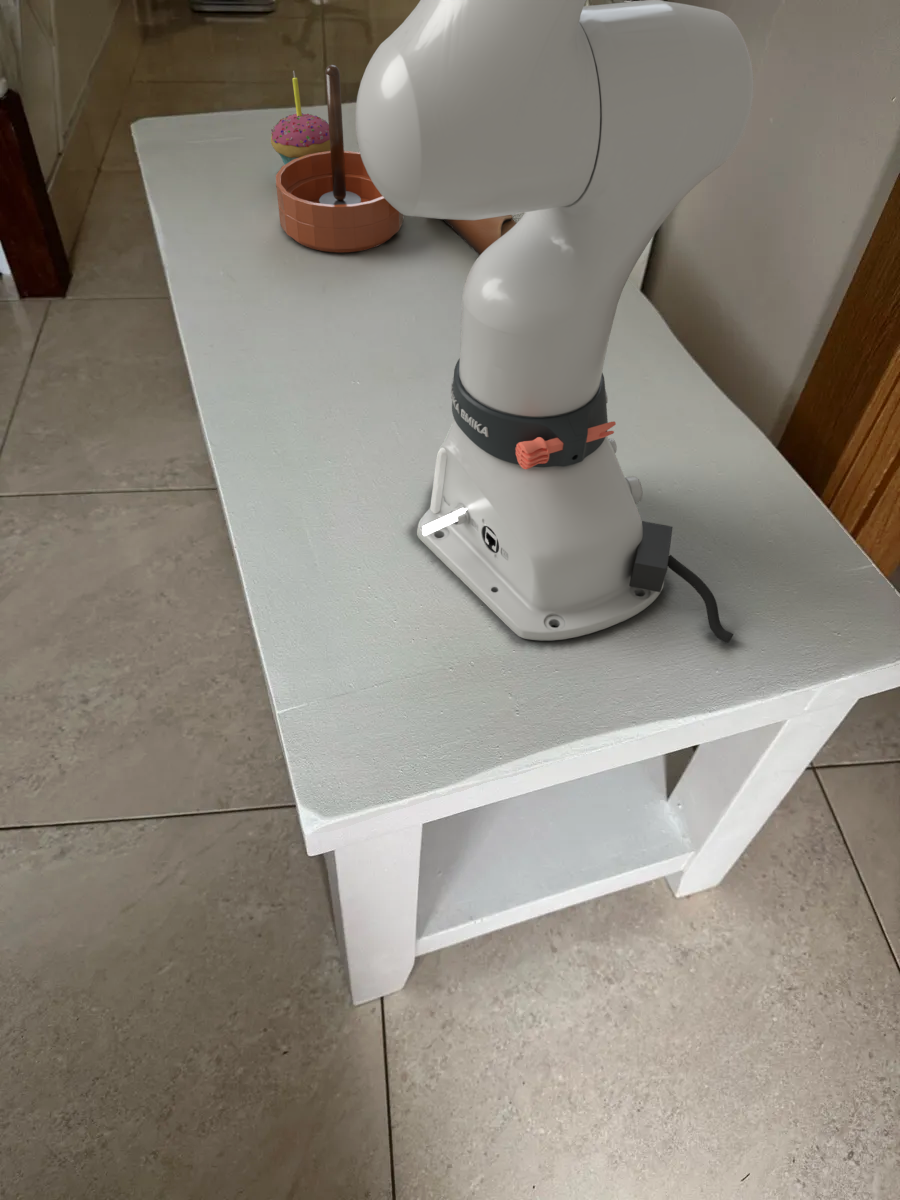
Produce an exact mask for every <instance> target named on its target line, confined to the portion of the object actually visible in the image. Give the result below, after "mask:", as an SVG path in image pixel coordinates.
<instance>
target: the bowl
mask: <svg viewBox="0 0 900 1200" xmlns="http://www.w3.org/2000/svg"><path fill="white" fill-rule="evenodd" d="M344 161H345V179H346V191H349V192H353V193H355V194H357V195H358V196H360V198H361V203H357V204H343V205H330V204H321V203H319V199H320V197H321V196H322V195H323V194H325V193H328V192H332V191H333V183H332V168H331V153H330V151H327V152H326V151H325V152H319V153H313V154H308V155H305V156H302V157H299V158H296V159H294V160H292V161H290V162H289V163H287V164H285V165H284V164H283V165H282V166H281V167H280V169H279V170H278V172H277V173H276V174H275V187H276V188H275V189H276V196H277V207H278V214H279V224H280V227H281V228H282V230H283V231H284V232H285V234H286V235H287V236H289V237H290V238H291V239H292V240H294V241H295V242H297V243H298V244H301V245H302V246H304V247H307V248H309V249H312V250H315V251H316V250H317V251H321V252H326V253H327V252H329V253H355V252H361V251H362V252H363V251H366V250H369V249H373V248H376V247H378V246H380V245H383V244H384V243H386V242H388V241H389V240H390V239H391V238H392V237H393V236H394V235H396V234H397V233H398V232H400V229H401V227H402V225H403V223H404V215H403V214H401V213H400V212H399V211H397V210H396V209H395V208H394V207H393V206H392V205H391V204H390V203H389V202H388V201H387V200H386V199H385V198H384V197H383V196H382V195H381V193H380V192H379V191H378V190H377V188H376V187H375V185H374V184H373V182H372V180H371V179H370V177H369V175H368V173H367V171H366V168H365V166H364V164H363V161H362V158H361V155H360V151H352V150H351V151H350V150H344Z"/></svg>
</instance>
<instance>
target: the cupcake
mask: <svg viewBox="0 0 900 1200" xmlns="http://www.w3.org/2000/svg"><path fill="white" fill-rule="evenodd" d="M295 71H296V70H293V71H292V74H293V77H292V87H293V95H294V104H295V110H296V112H295V113H293V114H289V115H288V116H285V117H282V118H280V120H279V121H278V122H277V123H276V124H275V125H274V126H273V127H272V129H271V136H270V144H271V146H272V149H274V150H275V152H276V153H277V154H278V155H279V156H280V157H281V160H282V162H283V166H284V165H285V164H287V163H289V162H290V161H292V160H294V159H296V158H299V157H302V156H305V155H308V154H313V153H319V152H325V151H326V152H327V151H330V137H329V122H327V121H328V120H326V119H324V118H321V117H320V116H317V115H313V114H312V113H311V114H310V113H302V104H301V96H300V90H299V81H298V80H299V79H298V77H296V72H295Z"/></svg>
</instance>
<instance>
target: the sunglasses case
mask: <svg viewBox="0 0 900 1200" xmlns="http://www.w3.org/2000/svg"><path fill="white" fill-rule="evenodd" d="M441 220H442V221H444V223H446V224H447V225H449V226H450V227H451V228H452V230H453V231H455V233H456V234H457V235H458V236H459V237H460V238H461V239H462V240H463V241H465V243H467V244H468V245H469V247H470V248H471V249H472V250H473V251H474V252H475V253H476V254H477V255H478V256H480V255H481V254H482V253H483V252H484V250H486V249H487V248H488V247H489V246H490V245H491V244H493V243H494V242H495V241H496V240H498V239H499V238H500V237H502V236H503V235H504V234H505V233H507V232H508V231H509V230H510V229H511V228H512V227H514V226H515V224H516V223H517V222H516V221H515V220H514V216H513V214H512V215H506V216H499V217H493V218H486V219H480V220H454V219H441Z"/></svg>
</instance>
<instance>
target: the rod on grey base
mask: <svg viewBox="0 0 900 1200" xmlns="http://www.w3.org/2000/svg"><path fill="white" fill-rule="evenodd" d="M324 73H325V74H324V77H325V89H326V90H325V91H326V104H327V121H328V122H327V123H328V124H329V137H330V153H331V168H332V183H333V191H332V192H328V193H325V194H323V195H322V196H321V197H320V199H319V203H321V204H330V205H343V204H357V203H361V198H360V196H358V195H357V194H355V193H353V192H349V191H346V179H345V161H344V151H345V146H344V127H343V108H342V90H341V89H342V88H341V72H340V69H339V68H338V67H337V65H335V64H329V65H327V66H326V68H325V72H324Z"/></svg>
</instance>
